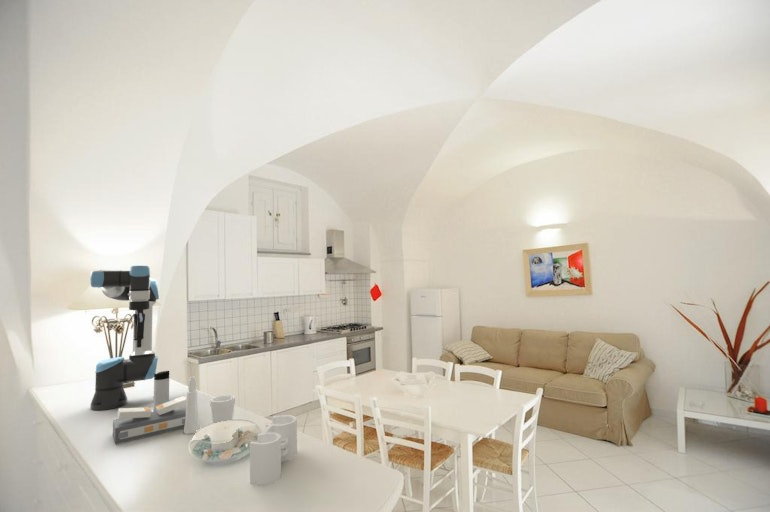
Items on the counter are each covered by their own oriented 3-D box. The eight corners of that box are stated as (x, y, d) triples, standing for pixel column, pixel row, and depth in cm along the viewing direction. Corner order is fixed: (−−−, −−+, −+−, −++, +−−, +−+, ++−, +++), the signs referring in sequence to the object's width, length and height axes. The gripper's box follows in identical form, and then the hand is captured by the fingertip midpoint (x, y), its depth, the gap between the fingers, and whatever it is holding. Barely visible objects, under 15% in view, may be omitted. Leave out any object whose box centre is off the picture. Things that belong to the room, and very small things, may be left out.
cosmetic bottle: (203, 429, 158) (203, 376, 159) (189, 435, 153) (190, 379, 154) (193, 427, 161) (194, 374, 162) (180, 432, 156) (180, 378, 157)
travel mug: (162, 417, 174) (163, 372, 175) (150, 416, 175) (150, 372, 177) (172, 412, 180) (173, 369, 181) (160, 411, 181) (161, 369, 183)
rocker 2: (156, 411, 162) (155, 405, 162) (184, 401, 169) (183, 395, 169) (159, 415, 158) (157, 409, 157) (187, 404, 164) (186, 398, 164)
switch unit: (112, 434, 155) (113, 416, 155) (185, 418, 172) (186, 402, 172) (115, 444, 145) (115, 425, 145) (192, 426, 162) (192, 409, 162)
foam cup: (210, 436, 151) (211, 403, 151) (209, 428, 159) (209, 397, 160) (236, 431, 155) (236, 399, 156) (233, 424, 163) (233, 393, 164)
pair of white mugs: (277, 485, 114) (277, 444, 114) (245, 485, 114) (245, 444, 115) (300, 448, 138) (300, 414, 139) (274, 448, 139) (274, 414, 140)
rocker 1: (117, 414, 153) (118, 407, 154) (148, 413, 160) (149, 406, 161) (118, 418, 149) (120, 411, 149) (150, 417, 156) (151, 410, 156)
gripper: (127, 300, 169) (126, 353, 168) (131, 301, 159) (130, 358, 158) (146, 299, 174) (146, 351, 173) (151, 300, 164) (150, 355, 163)
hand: (138, 354), depth 166 cm, fingers closed
